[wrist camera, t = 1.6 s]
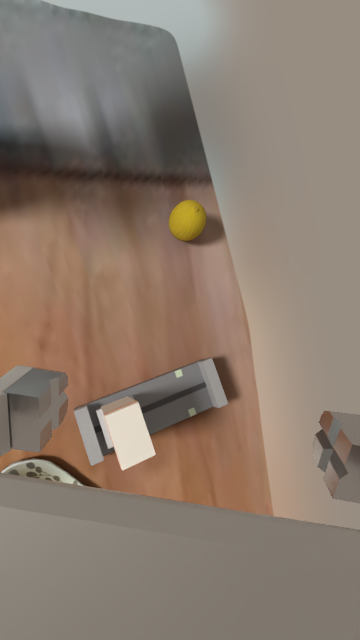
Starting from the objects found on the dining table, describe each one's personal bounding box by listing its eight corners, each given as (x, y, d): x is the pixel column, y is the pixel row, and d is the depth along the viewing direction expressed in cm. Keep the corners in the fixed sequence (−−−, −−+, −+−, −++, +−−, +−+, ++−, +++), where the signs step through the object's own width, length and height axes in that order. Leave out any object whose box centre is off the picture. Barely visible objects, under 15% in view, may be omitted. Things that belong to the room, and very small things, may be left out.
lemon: (181, 211, 51) (197, 183, 43) (201, 237, 51) (220, 213, 44) (156, 227, 49) (169, 201, 42) (178, 254, 49) (194, 233, 42)
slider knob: (108, 449, 39) (115, 474, 29) (94, 407, 39) (97, 418, 30) (144, 433, 41) (162, 452, 31) (130, 393, 41) (144, 399, 31)
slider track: (90, 457, 40) (91, 466, 37) (74, 407, 41) (73, 411, 37) (216, 401, 47) (228, 403, 43) (202, 359, 47) (212, 358, 44)
